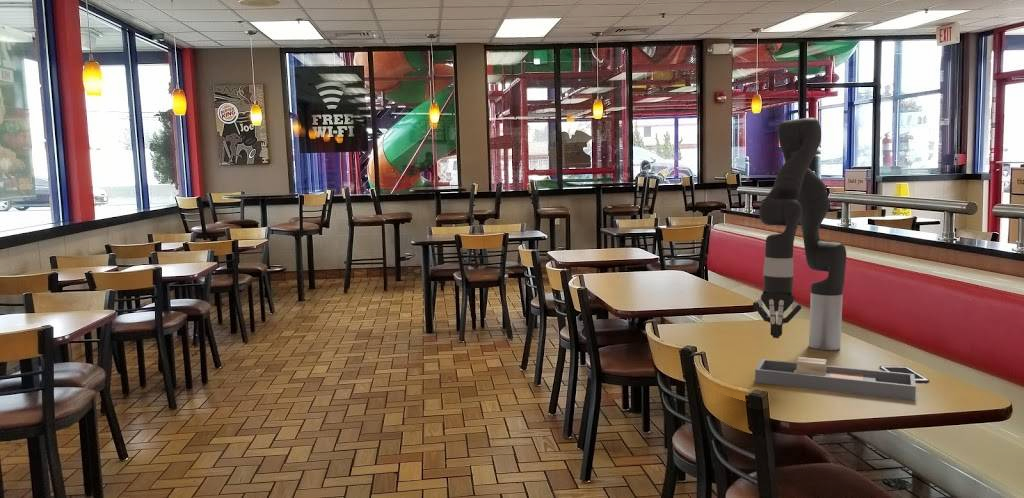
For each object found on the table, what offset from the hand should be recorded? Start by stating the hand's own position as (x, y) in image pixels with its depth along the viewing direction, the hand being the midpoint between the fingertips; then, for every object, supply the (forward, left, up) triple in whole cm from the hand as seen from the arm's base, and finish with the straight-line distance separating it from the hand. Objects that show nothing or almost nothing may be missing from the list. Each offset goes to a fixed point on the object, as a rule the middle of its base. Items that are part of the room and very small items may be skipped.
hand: (776, 337), depth 209 cm
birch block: (0, +9, -9) cm, 13 cm away
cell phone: (-18, +32, -12) cm, 38 cm away
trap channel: (0, +15, -11) cm, 19 cm away
